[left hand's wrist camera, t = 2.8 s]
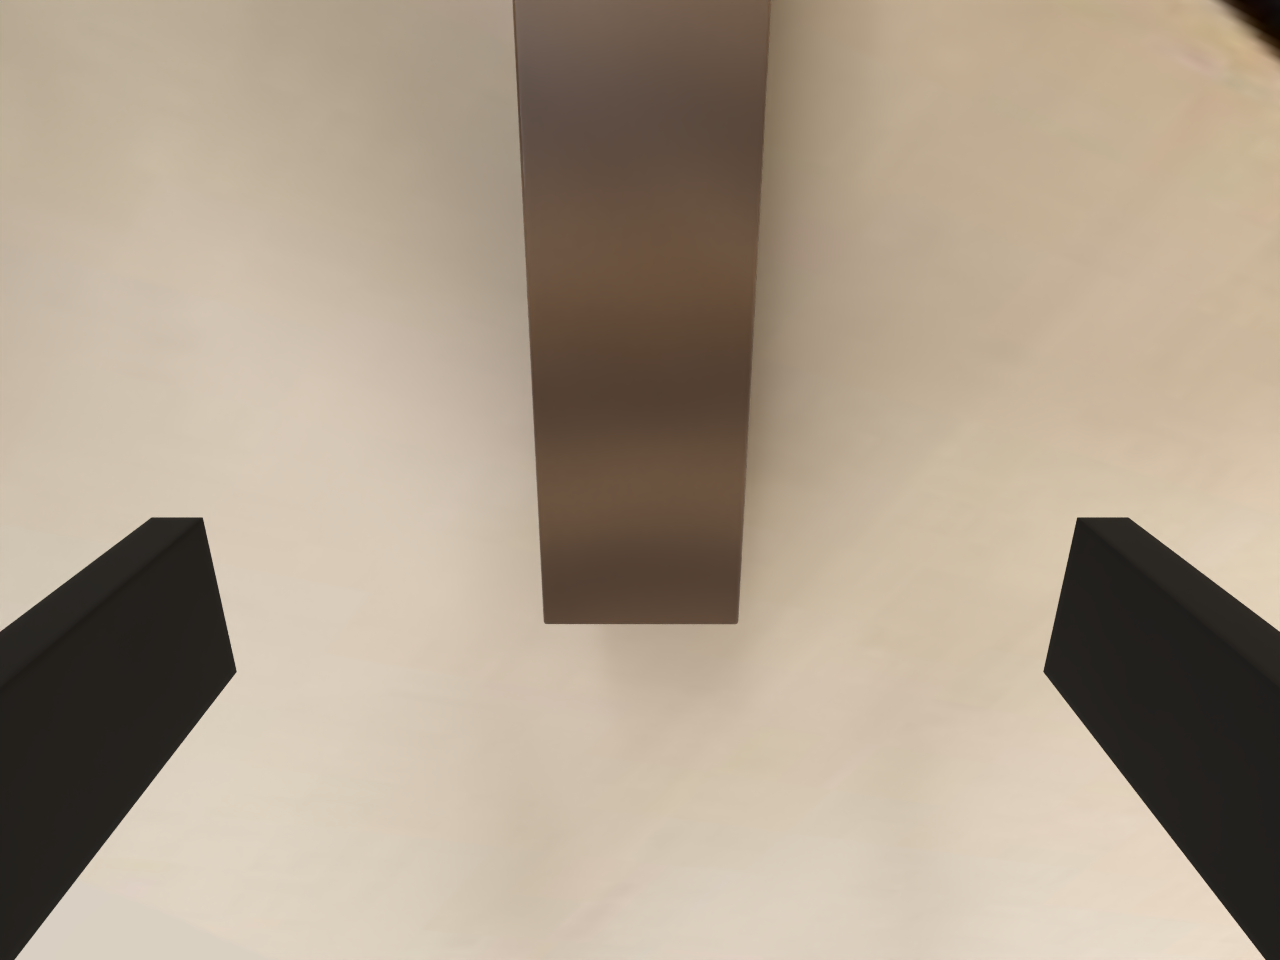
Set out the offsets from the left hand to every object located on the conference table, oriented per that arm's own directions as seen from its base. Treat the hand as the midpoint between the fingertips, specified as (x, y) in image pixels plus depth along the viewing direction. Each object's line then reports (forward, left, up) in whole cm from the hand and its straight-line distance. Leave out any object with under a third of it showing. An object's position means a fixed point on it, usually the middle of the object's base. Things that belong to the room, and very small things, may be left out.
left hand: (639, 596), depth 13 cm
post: (+11, +33, -14) cm, 37 cm away
